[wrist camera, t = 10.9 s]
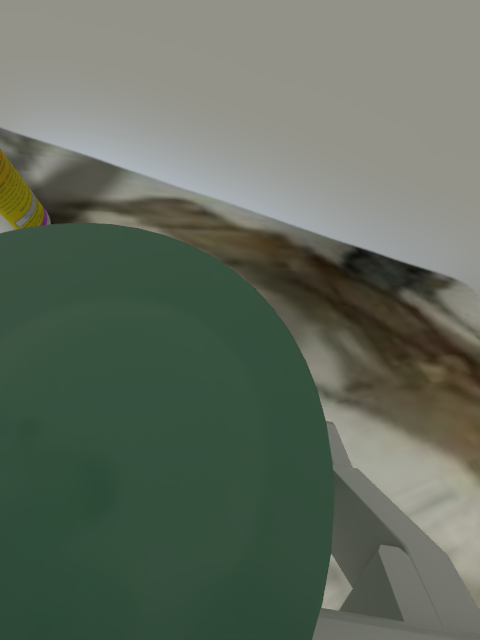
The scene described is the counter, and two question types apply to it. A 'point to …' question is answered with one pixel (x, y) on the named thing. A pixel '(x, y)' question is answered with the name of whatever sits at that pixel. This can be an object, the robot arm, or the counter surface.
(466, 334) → the counter surface
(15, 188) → the supplement bottle
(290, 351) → the bottle
